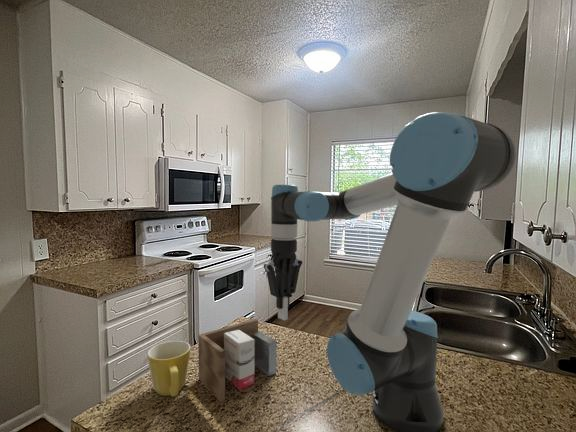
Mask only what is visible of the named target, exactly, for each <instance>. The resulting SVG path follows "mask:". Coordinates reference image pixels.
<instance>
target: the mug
mask: <svg viewBox="0 0 576 432" xmlns="http://www.w3.org/2000/svg"><path fill="white" fill-rule="evenodd" d="M191 348H192V347H191V344H190V343H188V342H186V341H182V340H170V341H165V342H161V343H158V344H156V345H154V346H152V347H151V348H150V349H148V351H147V361H148V366H149V372H150V378H151V383H152V388H153V390H154V391H155V392H156V393H157V394H159V395H160V396H165V397H167V396H168V397H169V396H171V397H177V396H178V395H179V392H180V391H181V390H182V388H184V386H185V385H186V383H187V379H188V378H187V377H188V376H187V375H188V371H189V370H188V369H189V362H190V361H189V360H190V354H191Z"/></svg>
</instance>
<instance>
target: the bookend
mask: <svg viewBox="0 0 576 432" xmlns="http://www.w3.org/2000/svg"><path fill="white" fill-rule="evenodd" d="M253 339H254V340H255V343H254V362H255V368H257V370H259V371H261V372H262V373H263V374H265V376H267V377H271V376H273V375H276V374H277V355H278V354H277V353H278V352H277V347H278V346H277V344H278V343H277V340H275V339H273V338H272V337H270V336H268V335H267V334H265V333H263V332H262V331H258V332H257V333H254V334H253Z"/></svg>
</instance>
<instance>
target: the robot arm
mask: <svg viewBox="0 0 576 432" xmlns="http://www.w3.org/2000/svg"><path fill="white" fill-rule="evenodd" d="M516 154H517V151H516V147H515V143H514V141H513V139H512V138H511V136H510V134H508V132H506V130H504V129H503V128H501V127H499V126H497V125H495V124H491V123H488V122H483V121H481V120H477V119H474V118H471V117H468V116H465V115H462V114H458V113H452V112H451V113H450V112H443V111H442V112H441V111H440V112H438V111H433V112H428V113H425V114H423V115H419V116H417V117H416V118H414V120H412V121H410V122H408V124H405V126H404V127H403V128H402V129H401V131H400V132H399V133H398V134H397V136H396V138H395V139H394V142H393V144H392V146H391V150H390V154H389V165H390V166H391V170H390V171H391V173H388V174H385V175H383V176H381V177H378V178H375V179H371V180H370V181H367V182H364V183H362V184H358V185H357V186H353V187H350V188H348V189H346V190H342V191H339V192H337V191H336V192H334V191H333V192H329V191H328V192H326V191H316V190H315V191H314V190H306V191H299V188H298V186H297V185H296V184H274V185H273V186H272V188H271V198H270V199H271V207H270V208H271V209H270V210H271V214H270V215H271V216H270V217H271V219H270V220H271V221H270V222H271V224H270V225H271V226H270V228H271V229H270V236H271V240H270V252H271V257H270V261H269V262H267V263H263V268H264V270H265V271H266V277H267V282H268V287H269V288H268V289H269V293H270V295H271V296H273V297H275V298H276V299H275V300H276V303H275V305H276V308H277V318H278V319H280V320H282V321H287V320H288V318H289V317H288V314H289V310H288V309H289V307H290V298H292V297H293V294H295V293H296V289H297V286H298V280H299V275H300V269H301V267H302V265H303V261H302V260H301V259H298V258H297V255H296V252H297V251H298V240H297V239H296V238H297V237H298V220H301V221H306V222H307V223H308V222H319V221H323V220H324V221H326V220H353V219H357V218H360V216H361V215H363V214H367V213H371V212H375V211H380V210H383V209H388V208H392V207H395V206H396V208H395V210H394V213H393V215H392V217H391V218H392V219H391V221H390V224H389V226H388V231H387V232H386V235H385V238H384V242H383V244H382V246H381V249H380V253H379V255H378V257H377V261H376V264H375V267H374V270H373V271H372V274H371V278H370V280H369V283H368V285H367V288H366V291H365V294H364V297H363V299H362V302H361V306H360V308H359V309H358V308H357V309H355V310H353V311H351V312H350V314H349V316H348V318H347V322H346V325H345V327H344V329H343V331H342V332H337V333H335V334H334V335H331V336H330V337H329V339H328V341H327V344H326V345H327V346H326V355H327V356H326V357H327V361H328V363H329V367H330V370H331V372H332V374H333V377H334V378H335V379H336V381H337V382H338V384H339V385H340V386H341V387H342V388H343V389H344V390H345V391H346V392H347V393H349V394H351V395H355V396H363V395H367V394H372V393H373V394H372V409H373V412H374V413H375V415H376V417H378V418H379V420H380V421H382V422H383V423H384V424H385V425H387V426H388V427H390V428H392V429H394V430H397V431H399V432H438V431H439V430H440V429H441V428H442V427H443V423H444V408H443V405H442V402H441V399H440V395H439V392H438V389H437V388H438V387H437V385H436V380H437V379H436V373H437V351H438V338H439V336H438V324H437V322H436V321H435V320H434V319H433V318H432V317H431V316H429V315H427V314H424V313H422V312H419V311H417V310H416V311H415V310H412V309H413V308H414V305H415V303H416V300H417V298H418V296H419V293H420V291H421V289H422V286H423V284H424V282H425V280H426V276H427V274H428V272H429V270H430V267H431V265H432V263H433V260H434V257H435V256H436V254H437V252H438V249H439V246H440V244H441V242H442V239H443V238H444V234H445V232H446V230H447V228H448V226H449V224H450V221H451V219H452V218H453V217H456V216H458V215H461V214H463V213H465V212H466V210H467V208H468V205H469V204H470V201H471V199H472V197H473V194H474V193H475V192H476V193H477V192H482V191H487V190H490V189H493V188H495V187H496V186H498V185H500V184H501V183H503V181H504V180H505V179H506V178H507V177H508V176H510V173H511V171H512V170H513V169H514V166H515V163H516V158H517V155H516Z"/></svg>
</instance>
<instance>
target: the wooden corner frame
mask: <svg viewBox="0 0 576 432" xmlns="http://www.w3.org/2000/svg"><path fill="white" fill-rule="evenodd" d="M235 330H240V331H242V332H243V333H245V334H247V335H248V336H250V337H251V338H253V334H254V333H257V332H259V320H258V319H257V318H255V319H251V320H247V321H245V322H240V323H236V324H233V325H230V326H226V327H222V328H218V329H215V330H212V331H208V332H205V333H200V334H198V380H199V381H200V383H202V385H203V386H204V387H205V388H206V389H207V390H208V391H209V392H210V393H211V394H212V395H213V396H214V397H215V398H216V399H217V400H218V402H220V403H221V402H224V401H226V377H225V350H224V333H226V332H231V331H235Z"/></svg>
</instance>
